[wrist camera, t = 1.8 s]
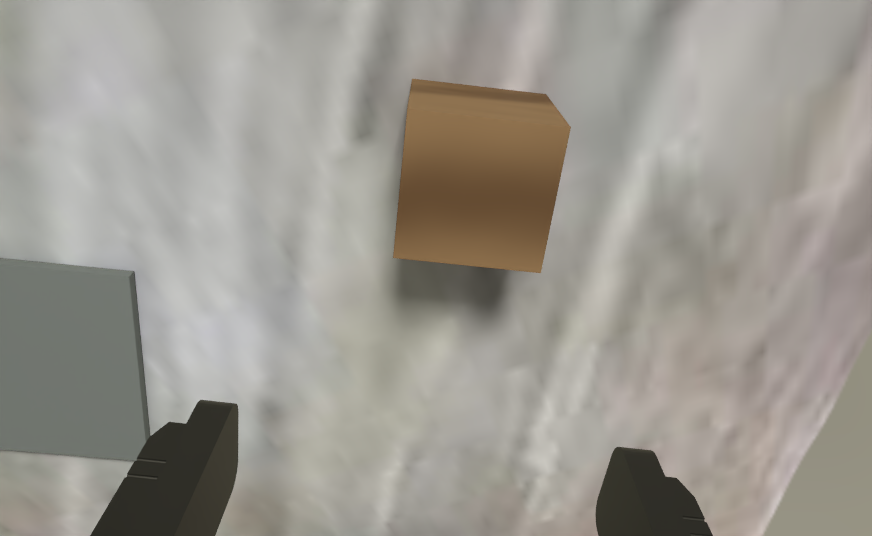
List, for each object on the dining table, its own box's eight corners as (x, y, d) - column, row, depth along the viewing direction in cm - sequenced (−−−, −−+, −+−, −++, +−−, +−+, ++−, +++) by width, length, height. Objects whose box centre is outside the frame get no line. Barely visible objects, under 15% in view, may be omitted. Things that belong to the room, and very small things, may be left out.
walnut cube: (412, 78, 29) (407, 108, 24) (545, 93, 29) (570, 127, 24) (400, 205, 32) (393, 258, 26) (522, 217, 32) (540, 272, 27)
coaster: (-114, 246, 33) (-123, 252, 32) (134, 271, 33) (129, 276, 33) (-61, 436, 38) (-69, 443, 37) (151, 454, 38) (147, 461, 38)
